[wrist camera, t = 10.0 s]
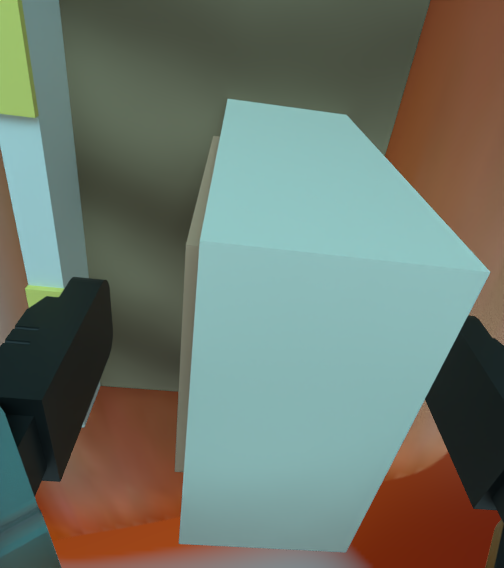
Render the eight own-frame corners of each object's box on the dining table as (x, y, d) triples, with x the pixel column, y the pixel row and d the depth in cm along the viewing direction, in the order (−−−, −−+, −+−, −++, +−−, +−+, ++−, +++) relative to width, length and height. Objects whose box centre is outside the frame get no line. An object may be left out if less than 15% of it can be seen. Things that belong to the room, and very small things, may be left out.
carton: (346, 115, 14) (489, 272, 6) (301, 305, 19) (345, 552, 10) (218, 97, 14) (176, 237, 5) (202, 296, 18) (166, 543, 10)
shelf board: (9, -184, 11) (-14, -202, 10) (446, -109, 12) (465, -119, 11) (83, 366, 22) (75, 383, 21) (310, 384, 23) (312, 401, 22)
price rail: (-15, -203, 10) (-91, -264, 8) (39, -193, 10) (-21, -251, 8) (75, 383, 21) (54, 430, 19) (100, 385, 21) (83, 431, 19)
